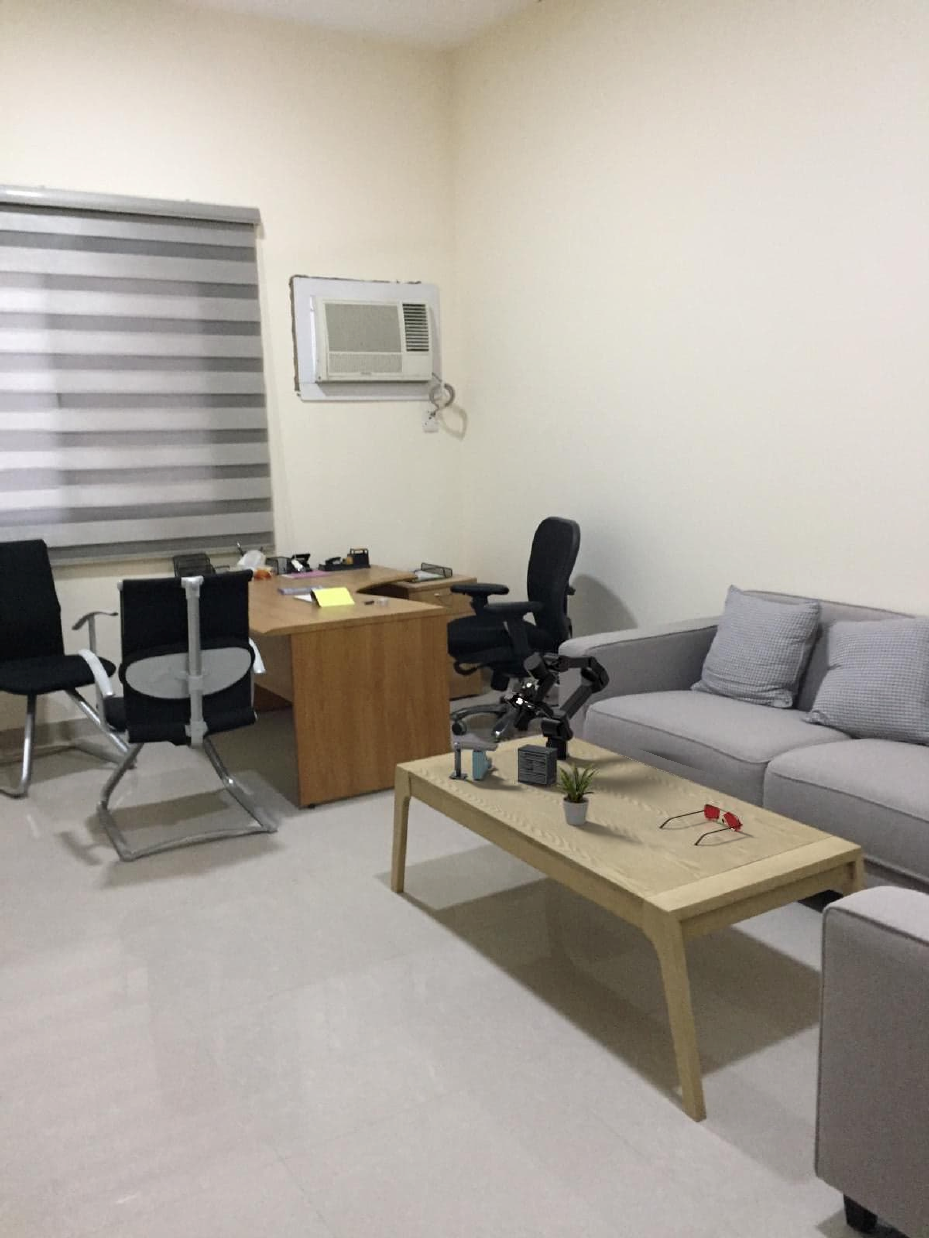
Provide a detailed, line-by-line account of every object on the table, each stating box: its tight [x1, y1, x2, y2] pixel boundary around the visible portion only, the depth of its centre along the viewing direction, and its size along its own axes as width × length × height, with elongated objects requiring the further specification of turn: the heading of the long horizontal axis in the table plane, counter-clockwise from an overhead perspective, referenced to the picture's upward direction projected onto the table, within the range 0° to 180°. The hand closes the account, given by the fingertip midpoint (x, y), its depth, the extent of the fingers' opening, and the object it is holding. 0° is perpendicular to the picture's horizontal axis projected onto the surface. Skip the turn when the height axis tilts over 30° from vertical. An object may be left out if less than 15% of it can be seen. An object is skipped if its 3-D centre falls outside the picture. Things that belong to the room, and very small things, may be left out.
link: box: [471, 750, 493, 780], centre depth 310 cm, size 15×5×8 cm, turn 169°
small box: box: [517, 743, 558, 788], centre depth 301 cm, size 11×6×10 cm, turn 58°
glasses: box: [658, 803, 744, 846], centre depth 261 cm, size 14×16×5 cm
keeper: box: [448, 740, 499, 780], centre depth 305 cm, size 14×5×11 cm, turn 74°
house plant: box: [554, 761, 604, 826], centre depth 267 cm, size 14×14×16 cm
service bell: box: [486, 754, 496, 771], centre depth 316 cm, size 7×7×4 cm
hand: (514, 727), depth 313 cm, fingers closed
